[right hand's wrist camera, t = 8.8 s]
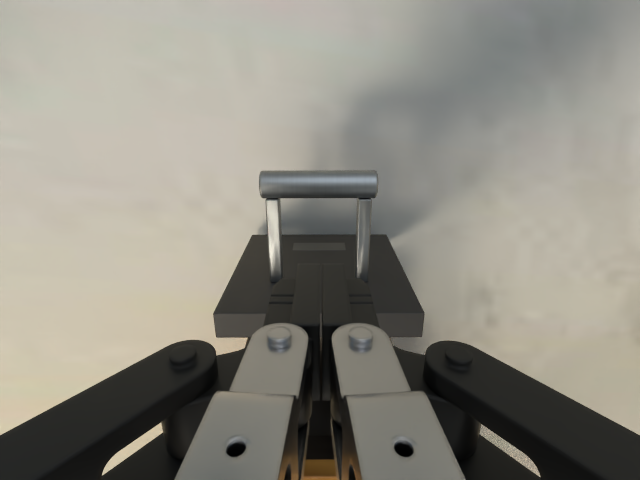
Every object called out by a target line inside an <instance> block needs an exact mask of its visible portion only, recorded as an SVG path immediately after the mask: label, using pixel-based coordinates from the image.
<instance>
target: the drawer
mask: <svg viewBox="0 0 640 480" xmlns="http://www.w3.org/2000/svg"><path fill="white" fill-rule="evenodd" d="M259 190H260V195H261V197H262V198H267V199H266V216H267V234H268V235H252V237H251V239H250V241H249V243H248V245H247V247H246V249H245V251H244V253H243V255H242V257H241V259H240V261H239V263H238V265H237V267H236V269H235V271H234V273H233V275H232V277H231V279H230V281H229V283H228V285H227V287H226V289H225V291H224V293H223V295H222V297H221V299H220V301H219V303H218V305H217V307H216V309H215V311H214V313H213V315H214V323H215V332H216V337H248V339H247V342H246V346H245V348H246V347H247V346H248V344H249V341H250V339H251V337H252V335H253V334H254V333H255V332H256V331H257V330H258V329H260V328H262V327H263V324H264V320H265V316H266V312H267V308H268V304H269V300H270V297H271V292H272V288H273V286H274V285H275V284H276V283H277V282H278V281H279V280H280V279H281V278H296V274H297V267H298V264H320V401H312V413H311V416H310V419H309V436H308V444H307V452H306V459H334V452H333V444H332V436H331V403H330V400H322V264H344V267H345V274H346V278H361V279H362V280H363V281H364V282H365V283H366V284H367V285H368V286H369V288H370V292H371V296H372V300H373V304H374V307H375V311H376V315H377V319H378V323H379V326H380V329H382V330H383V331H384V332H385V333H386V334H387V335H388V337H389V339H390V341H391V338H390V337H422V331H423V322H424V311H423V309H422V307H421V305H420V303H419V301H418V299H417V297H416V295H415V293H414V291H413V289H412V287H411V284H410V282H409V280H408V278H407V276H406V274H405V272H404V270H403V268H402V266H401V264H400V262H399V260H398V258H397V256H396V254H395V252H394V250H393V248H392V246H391V243H390V241H389V239H388V237H387V235H370V227H371V206H372V200H371V198H375V197H376V196H377V192H378V174H377V171H375V170H368V171H261V172H260V176H259ZM280 198H357V221H356V235H282V229H281V205H280ZM391 344H392V341H391Z"/></svg>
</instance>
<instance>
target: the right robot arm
mask: <svg viewBox="0 0 640 480" xmlns="http://www.w3.org/2000/svg"><path fill="white" fill-rule="evenodd" d="M322 400H330V403H331V436H332V444H333V452H334V460H335V468H336V476H337V480H640V435H638V434H636V433H634V432H632V431H630V430H629V429H627V428H625V427H623V426H621V425H619V424H617V423H615V422H614V421H612V420H610V419H608V418H606V417H604V416H602V415H600V414H599V413H597V412H595V411H593V410H591V409H589V408H587V407H585V406H584V405H582V404H580V403H578V402H576V401H574V400H572V399H570V398H569V397H567V396H565V395H563V394H561V393H559V392H557V391H555V390H554V389H552V388H550V387H548V386H546V385H544V384H542V383H540V382H539V381H537V380H535V379H533V378H531V377H529V376H527V375H525V374H524V373H522V372H520V371H518V370H516V369H514V368H512V367H510V366H509V365H507V364H505V363H503V362H501V361H499V360H497V359H495V358H494V357H492V356H490V355H488V354H486V353H484V352H482V351H480V350H479V349H477V348H475V347H473V346H471V345H468V344H465V343H461V342H457V341H440V342H436V343H434V344H432V345H430V346H429V347H428V348H427V350H426V354H425V355H421V354H417V353H412V352H408V351H404V350H402V349H399V348H397V347H395V346H393V345H392V344H391V341H390V339H389V337H388V335H387V334H386V333H385V332H384V331H383V330H382V329H380V326H379V323H378V319H377V315H376V311H375V307H374V304H373V300H372V296H371V292H370V288H369V286H368V285H367V284H366V283H365V282H364V281H363V280H362V279H361V278H346V274H345V267H344V264H322ZM312 401H320V264H298V267H297V274H296V278H281V279H280V280H279V281H278V282H277V283H276V284H275V285H274V286H273V288H272V292H271V297H270V300H269V304H268V308H267V312H266V316H265V320H264V324H263V327H262V328H260V329H258V330H257V331H256V332H255V333H254V334H253V335H252V337H251V339H250V341H249V344H248V346H247V347H246V348H244V349H242V350H239V351H235V352H231V353H227V354H222V355H217V356H216V351H215V348H214V347H213V346H212V345H211V344H209V343H207V342H204V341H200V340H186V341H181V342H177V343H174V344H171V345H169V346H167V347H165V348H163V349H161V350H160V351H158V352H156V353H154V354H152V355H150V356H148V357H146V358H145V359H143V360H141V361H139V362H137V363H135V364H133V365H131V366H130V367H128V368H126V369H124V370H122V371H120V372H118V373H116V374H115V375H113V376H111V377H109V378H107V379H105V380H103V381H101V382H100V383H98V384H96V385H94V386H92V387H90V388H88V389H86V390H85V391H83V392H81V393H79V394H77V395H75V396H73V397H71V398H70V399H68V400H66V401H64V402H62V403H60V404H58V405H56V406H55V407H53V408H51V409H49V410H47V411H45V412H43V413H41V414H40V415H38V416H36V417H34V418H32V419H30V420H28V421H26V422H25V423H23V424H21V425H19V426H17V427H15V428H13V429H11V430H10V431H8V432H6V433H4V434H2V435H0V480H303V476H304V468H305V460H306V452H307V444H308V436H309V419H310V416H311V413H312ZM159 423H162V428H163V433H162V434H160V435H159V436H158V437H156V438H155V439H153V440H152V441H151V442H149V443H148V444H146V445H145V446H144V447H142V448H141V449H139V450H138V451H137V452H135V453H134V454H132V455H131V456H130V457H128V458H127V459H125V460H124V461H123V462H121V463H120V464H118V465H117V466H115V467H114V468H113V469H111V470H110V471H108V472H107V473H106V474H104V475H103V476H102V472H103V469H104V467H105V465H106V464H107V462H108V461H109V460H110V459H111V458H112V456H114V455H115V454H116V453H117V452H118V451H120V450H121V449H123V448H124V447H126V446H127V445H128V444H130V443H131V442H133V441H134V440H136V439H137V438H139V437H140V436H142V435H143V434H144V433H146V432H147V431H149V430H150V429H152V428H153V427H155V426H156V425H158V424H159ZM481 424H482V425H484V426H485V427H487V428H488V429H490V430H491V431H493V432H494V433H496V434H497V435H498V436H500V437H501V438H503V439H504V440H506V441H507V442H509V443H510V444H512V445H513V446H514V447H516V448H517V449H519V450H520V451H522V452H523V453H524V454H526V455H527V456H528V457H529V458H530V459H531V460H532V461H533V462H534V464H535V465H536V467H537V468H538V470H539V473H540V476H541V478H540V477H539V476H537V475H536V474H534V473H533V472H532V471H530V470H529V469H527V468H526V467H525V466H523V465H522V464H520V463H519V462H517V461H516V460H515V459H513V458H512V457H510V456H509V455H508V454H506V453H505V452H503V451H502V450H501V449H499V448H498V447H496V446H495V445H494V444H492V443H491V442H489V441H488V440H487V439H485V438H484V437H482V436H481V435H480V434H479V433H480V428H481Z"/></svg>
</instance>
